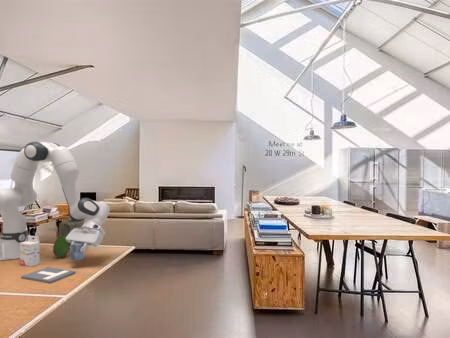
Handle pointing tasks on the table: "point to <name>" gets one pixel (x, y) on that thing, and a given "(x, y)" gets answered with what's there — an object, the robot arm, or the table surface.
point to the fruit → (60, 247)
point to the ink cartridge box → (29, 251)
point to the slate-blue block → (76, 251)
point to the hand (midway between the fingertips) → (75, 250)
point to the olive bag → (68, 227)
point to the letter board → (48, 275)
